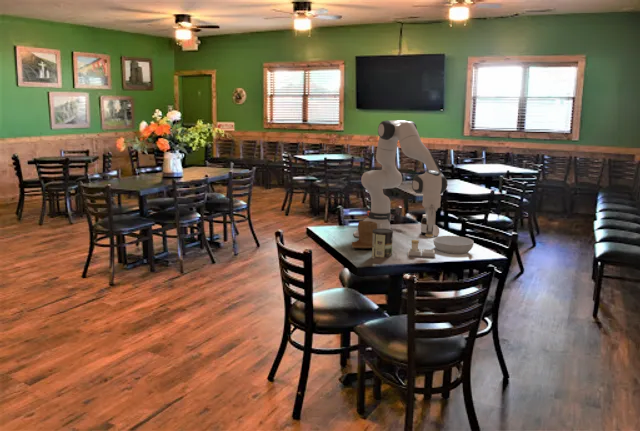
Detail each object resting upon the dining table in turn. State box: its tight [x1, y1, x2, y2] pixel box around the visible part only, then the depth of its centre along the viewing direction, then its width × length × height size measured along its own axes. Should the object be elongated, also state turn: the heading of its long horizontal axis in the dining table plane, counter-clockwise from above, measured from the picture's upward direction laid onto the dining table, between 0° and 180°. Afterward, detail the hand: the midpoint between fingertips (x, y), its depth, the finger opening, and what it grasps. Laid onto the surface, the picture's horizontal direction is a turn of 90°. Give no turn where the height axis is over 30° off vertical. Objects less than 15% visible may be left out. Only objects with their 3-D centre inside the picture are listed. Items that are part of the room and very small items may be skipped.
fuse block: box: [407, 247, 437, 260], centre depth 287 cm, size 14×10×4 cm
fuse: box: [411, 239, 420, 251], centre depth 286 cm, size 4×4×8 cm
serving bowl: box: [433, 235, 475, 255], centre depth 299 cm, size 21×21×7 cm
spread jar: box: [420, 213, 440, 237], centre depth 338 cm, size 12×11×12 cm
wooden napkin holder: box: [351, 220, 377, 249], centre depth 304 cm, size 15×12×15 cm
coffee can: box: [371, 228, 394, 259], centre depth 285 cm, size 10×10×14 cm
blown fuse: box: [425, 223, 434, 238], centre depth 284 cm, size 4×4×8 cm
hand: (429, 230), depth 284 cm, fingers closed on blown fuse, 3 cm apart
